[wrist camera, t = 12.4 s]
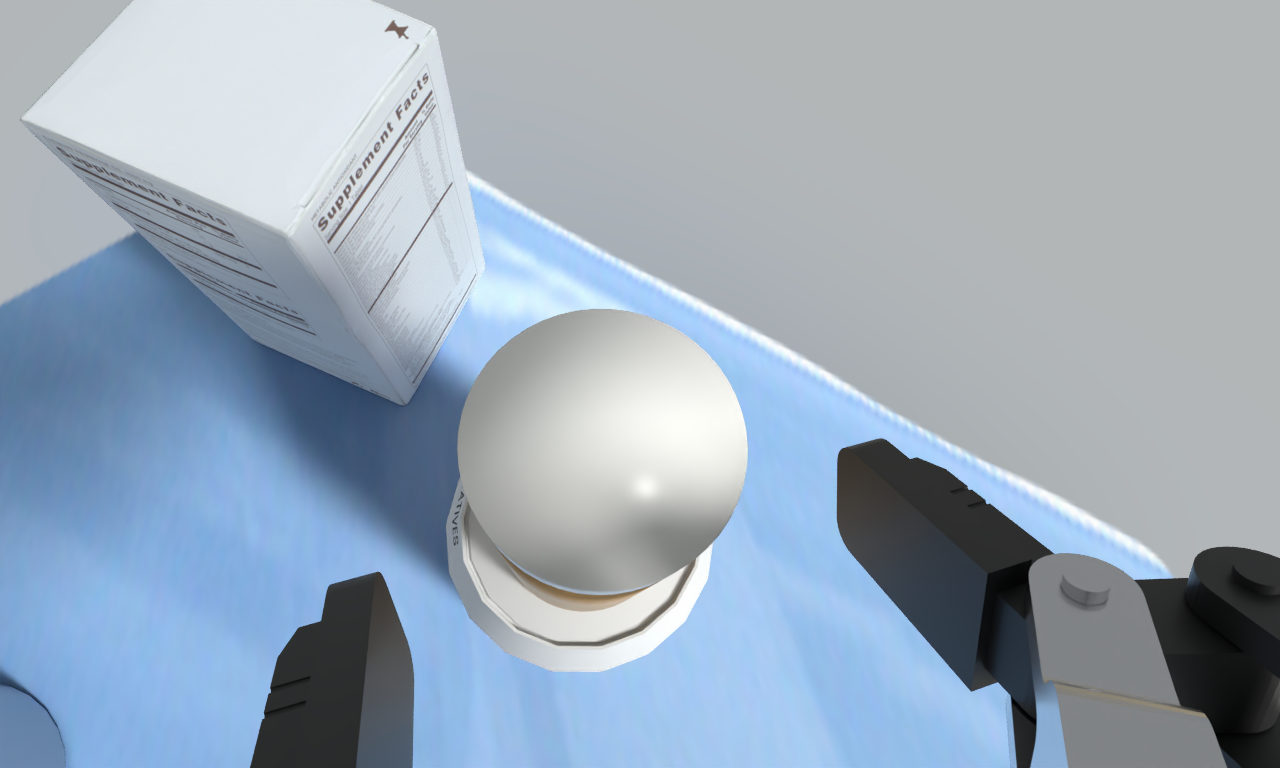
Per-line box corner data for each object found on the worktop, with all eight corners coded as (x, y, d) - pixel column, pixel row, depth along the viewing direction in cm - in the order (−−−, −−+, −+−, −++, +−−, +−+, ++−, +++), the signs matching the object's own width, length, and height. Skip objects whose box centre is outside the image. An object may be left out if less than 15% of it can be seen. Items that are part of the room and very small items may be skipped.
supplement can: (454, 556, 33) (379, 498, 19) (589, 454, 36) (609, 338, 22) (556, 697, 32) (554, 745, 18) (690, 581, 34) (780, 542, 20)
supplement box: (343, 202, 39) (199, -86, 24) (490, 265, 39) (445, 15, 23) (245, 343, 36) (1, 115, 20) (406, 413, 36) (285, 237, 20)
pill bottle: (469, 565, 19) (399, 509, 11) (548, 416, 21) (541, 267, 12) (627, 641, 19) (681, 644, 10) (694, 484, 21) (786, 378, 12)
